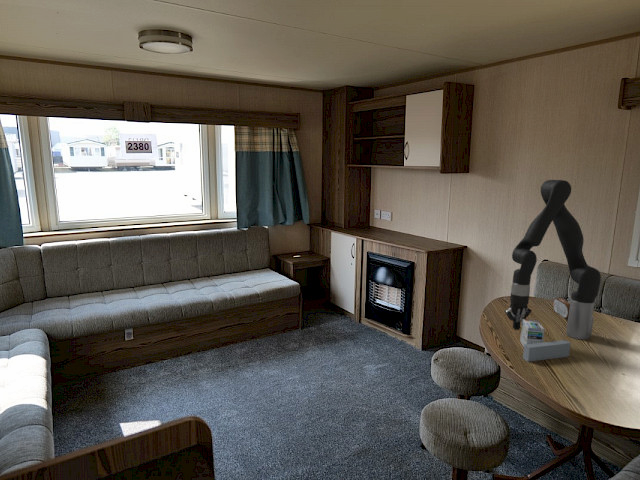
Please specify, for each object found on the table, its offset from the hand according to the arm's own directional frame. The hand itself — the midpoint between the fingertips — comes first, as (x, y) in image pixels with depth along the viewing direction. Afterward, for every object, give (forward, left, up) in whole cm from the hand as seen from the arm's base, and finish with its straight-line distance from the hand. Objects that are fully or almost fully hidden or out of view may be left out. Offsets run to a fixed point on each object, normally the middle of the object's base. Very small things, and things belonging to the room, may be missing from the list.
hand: (516, 329), depth 195 cm
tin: (-43, -18, -4) cm, 47 cm away
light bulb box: (0, +10, -4) cm, 11 cm away
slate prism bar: (+1, +20, -4) cm, 20 cm away
